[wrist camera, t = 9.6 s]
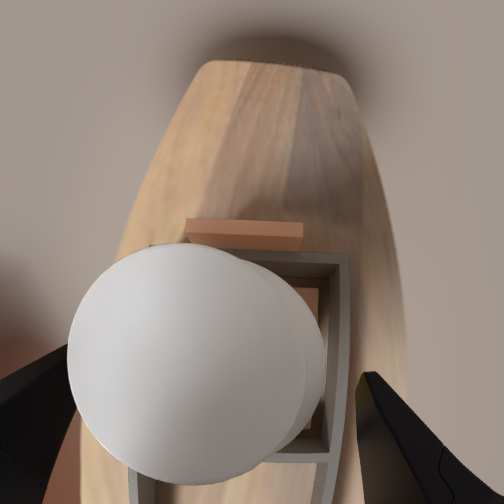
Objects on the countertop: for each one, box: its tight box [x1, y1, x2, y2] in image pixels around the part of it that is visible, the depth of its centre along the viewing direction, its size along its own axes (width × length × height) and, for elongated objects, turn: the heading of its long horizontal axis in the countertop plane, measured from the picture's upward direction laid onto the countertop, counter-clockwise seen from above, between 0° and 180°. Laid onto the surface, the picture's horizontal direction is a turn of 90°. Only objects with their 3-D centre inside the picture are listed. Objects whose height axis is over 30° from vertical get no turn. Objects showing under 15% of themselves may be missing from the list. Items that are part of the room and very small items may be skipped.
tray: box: [128, 219, 350, 504], centre depth 13 cm, size 24×12×5 cm, turn 176°
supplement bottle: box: [67, 243, 326, 485], centre depth 10 cm, size 7×7×13 cm
